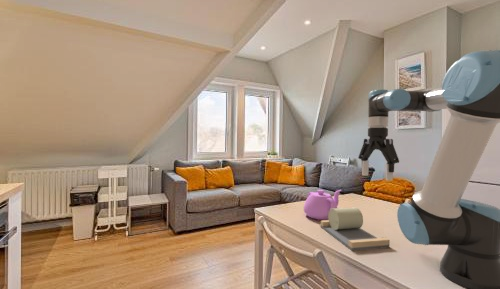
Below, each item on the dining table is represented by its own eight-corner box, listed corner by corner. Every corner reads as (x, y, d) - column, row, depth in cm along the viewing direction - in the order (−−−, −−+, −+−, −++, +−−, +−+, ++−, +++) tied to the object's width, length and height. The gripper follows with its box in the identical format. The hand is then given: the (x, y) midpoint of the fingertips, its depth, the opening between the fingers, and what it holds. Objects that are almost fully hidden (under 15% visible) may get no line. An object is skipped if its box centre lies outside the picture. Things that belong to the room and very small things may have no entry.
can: (362, 232, 108) (337, 234, 106) (349, 222, 117) (326, 224, 115) (364, 211, 107) (338, 213, 104) (351, 204, 116) (327, 205, 113)
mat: (389, 247, 95) (389, 239, 94) (351, 250, 91) (351, 242, 91) (351, 225, 118) (351, 218, 118) (320, 227, 115) (320, 220, 115)
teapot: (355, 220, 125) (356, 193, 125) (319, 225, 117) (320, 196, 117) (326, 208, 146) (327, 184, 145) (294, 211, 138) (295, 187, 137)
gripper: (411, 126, 93) (409, 182, 94) (364, 128, 118) (363, 173, 118) (394, 125, 92) (392, 183, 92) (351, 128, 116) (349, 173, 116)
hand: (376, 177), depth 105 cm, fingers open, 13 cm apart
